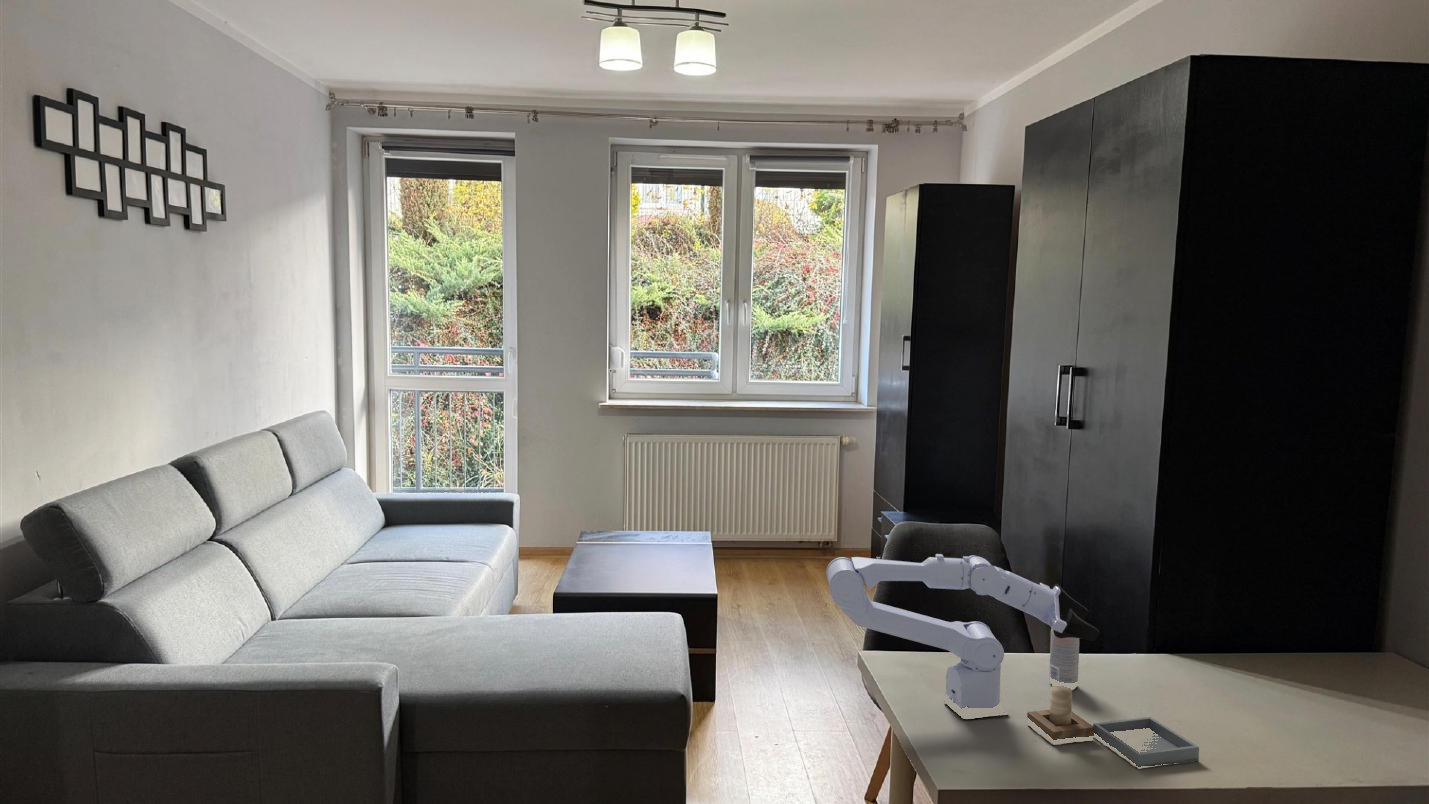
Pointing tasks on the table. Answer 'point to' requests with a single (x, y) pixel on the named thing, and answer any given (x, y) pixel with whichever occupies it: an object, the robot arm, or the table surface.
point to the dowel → (1060, 705)
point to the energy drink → (1064, 659)
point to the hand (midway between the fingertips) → (1091, 625)
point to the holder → (1061, 732)
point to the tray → (1167, 747)
